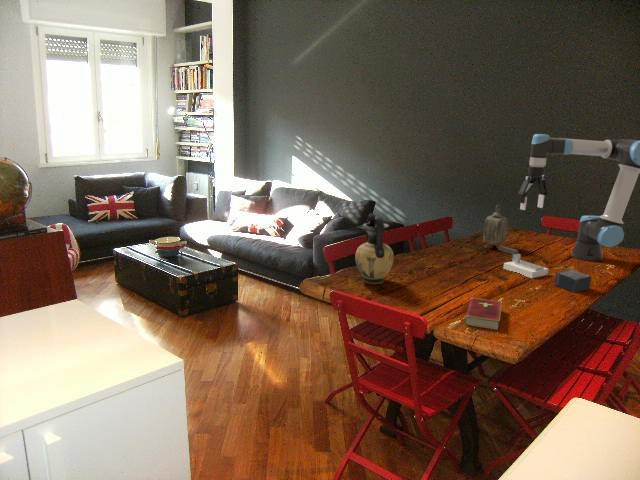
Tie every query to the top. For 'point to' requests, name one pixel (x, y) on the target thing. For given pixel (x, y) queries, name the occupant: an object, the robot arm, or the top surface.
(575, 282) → the small box
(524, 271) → the board
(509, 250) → the dark gray bar
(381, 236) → the amphora
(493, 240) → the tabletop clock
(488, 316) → the hardcover book
